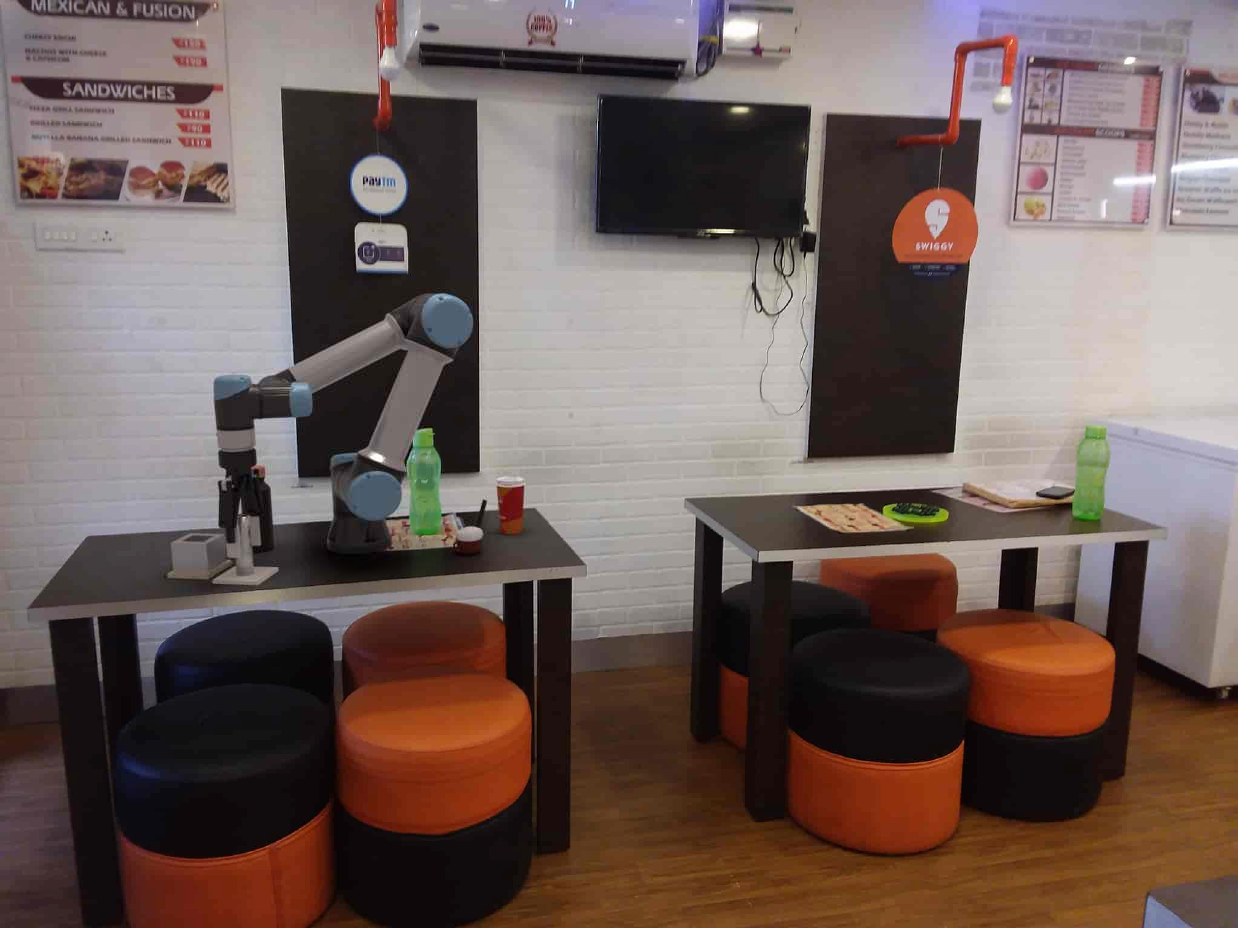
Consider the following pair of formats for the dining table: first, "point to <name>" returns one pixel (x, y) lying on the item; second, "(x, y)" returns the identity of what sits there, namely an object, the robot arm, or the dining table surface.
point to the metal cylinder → (244, 547)
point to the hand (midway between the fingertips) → (244, 550)
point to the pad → (253, 579)
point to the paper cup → (510, 504)
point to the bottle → (264, 515)
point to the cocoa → (471, 535)
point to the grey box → (198, 556)
